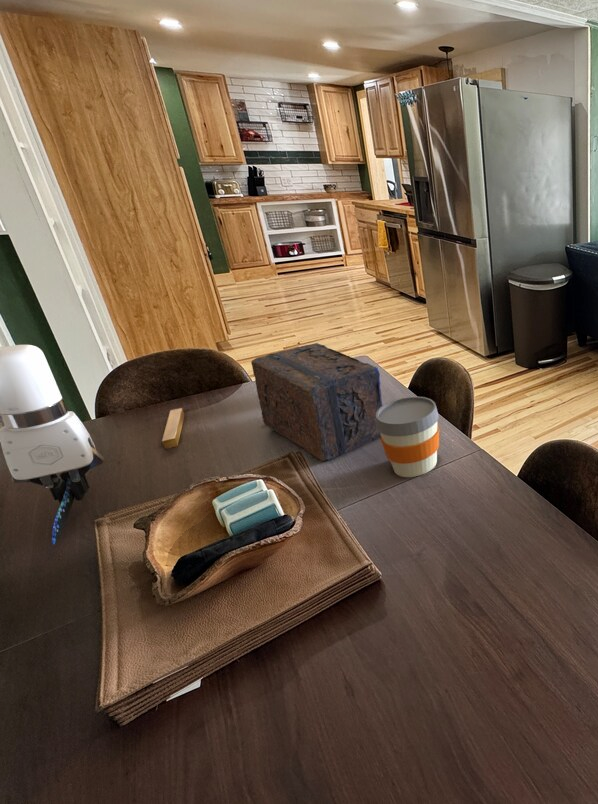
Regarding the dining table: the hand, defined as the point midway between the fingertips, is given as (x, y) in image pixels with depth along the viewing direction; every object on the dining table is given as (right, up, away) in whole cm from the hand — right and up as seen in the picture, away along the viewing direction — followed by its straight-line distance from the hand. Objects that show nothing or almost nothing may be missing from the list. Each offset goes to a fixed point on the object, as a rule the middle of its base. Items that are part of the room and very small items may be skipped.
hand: (73, 498), depth 91 cm
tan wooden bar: (-7, +8, +29) cm, 31 cm away
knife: (0, -1, 0) cm, 1 cm away
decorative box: (+32, +8, +30) cm, 44 cm away
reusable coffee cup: (+60, +2, +16) cm, 62 cm away
